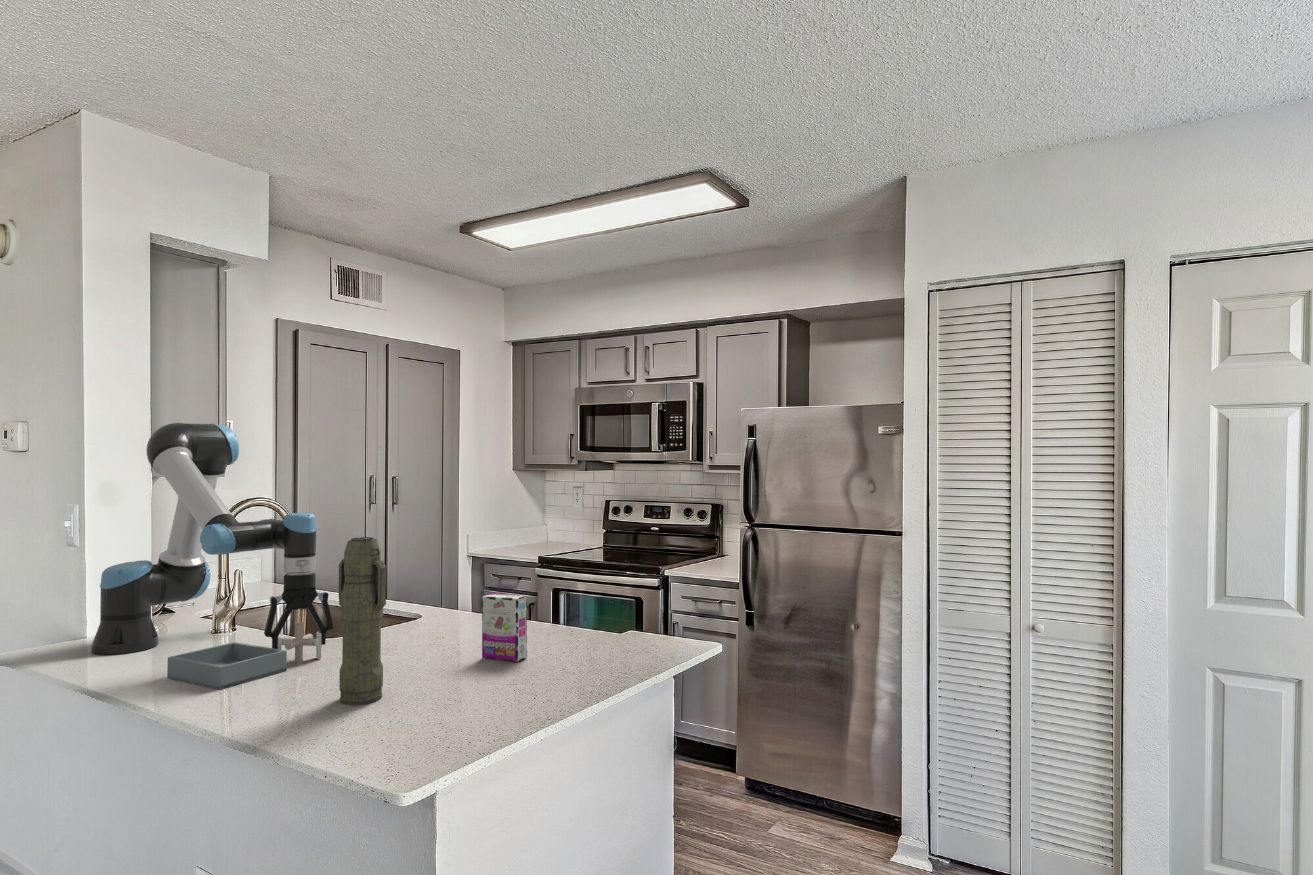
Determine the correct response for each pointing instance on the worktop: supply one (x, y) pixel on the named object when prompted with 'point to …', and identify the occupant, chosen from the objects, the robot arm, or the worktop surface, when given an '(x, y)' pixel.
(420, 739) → the worktop surface
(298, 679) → the worktop surface
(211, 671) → the bin
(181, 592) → the robot arm
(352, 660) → the thermos
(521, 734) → the worktop surface
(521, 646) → the candy bar box
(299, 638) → the pipe connector
